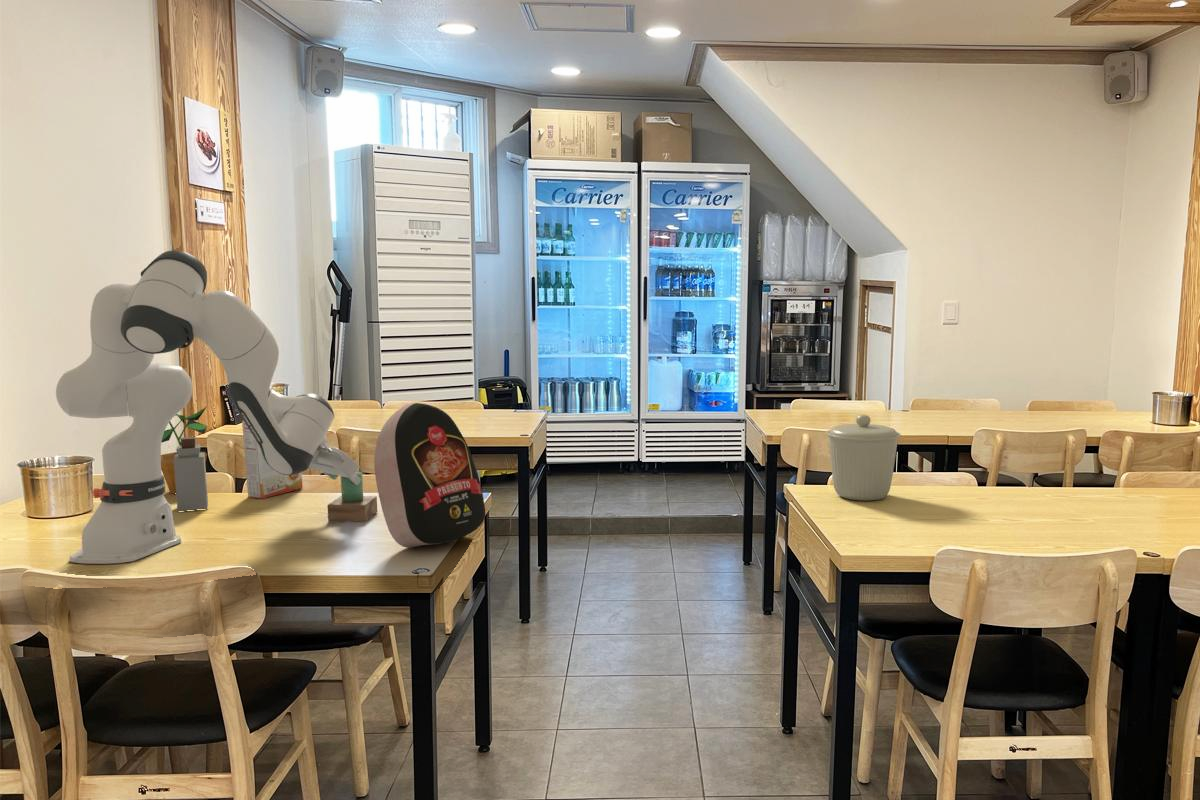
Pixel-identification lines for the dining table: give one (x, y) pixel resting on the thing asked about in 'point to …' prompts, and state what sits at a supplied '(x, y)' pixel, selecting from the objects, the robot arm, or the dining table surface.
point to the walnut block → (352, 509)
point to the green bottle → (352, 490)
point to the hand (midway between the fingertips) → (346, 479)
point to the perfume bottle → (190, 476)
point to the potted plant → (168, 459)
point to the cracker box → (264, 472)
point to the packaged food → (426, 478)
